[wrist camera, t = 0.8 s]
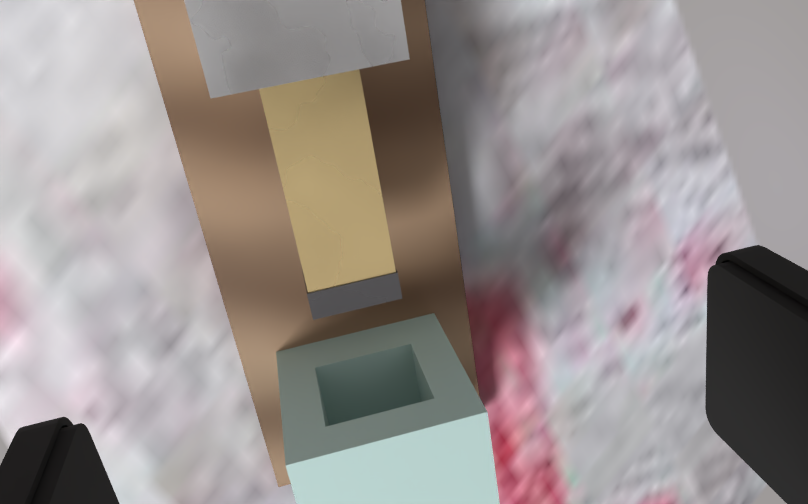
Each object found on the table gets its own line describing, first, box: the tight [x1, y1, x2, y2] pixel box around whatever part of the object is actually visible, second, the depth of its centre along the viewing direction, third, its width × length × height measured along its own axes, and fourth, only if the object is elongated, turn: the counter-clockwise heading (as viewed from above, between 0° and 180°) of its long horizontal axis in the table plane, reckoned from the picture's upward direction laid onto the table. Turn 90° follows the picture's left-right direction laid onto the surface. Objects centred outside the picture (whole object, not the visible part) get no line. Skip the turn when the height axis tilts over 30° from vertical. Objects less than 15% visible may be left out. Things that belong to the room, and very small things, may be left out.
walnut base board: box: [134, 0, 479, 487], centre depth 27 cm, size 34×10×2 cm, turn 9°
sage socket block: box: [276, 313, 500, 504], centre depth 28 cm, size 5×7×8 cm
